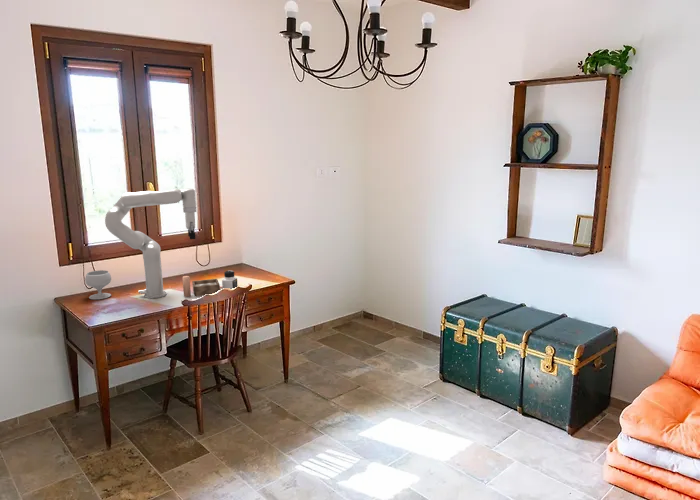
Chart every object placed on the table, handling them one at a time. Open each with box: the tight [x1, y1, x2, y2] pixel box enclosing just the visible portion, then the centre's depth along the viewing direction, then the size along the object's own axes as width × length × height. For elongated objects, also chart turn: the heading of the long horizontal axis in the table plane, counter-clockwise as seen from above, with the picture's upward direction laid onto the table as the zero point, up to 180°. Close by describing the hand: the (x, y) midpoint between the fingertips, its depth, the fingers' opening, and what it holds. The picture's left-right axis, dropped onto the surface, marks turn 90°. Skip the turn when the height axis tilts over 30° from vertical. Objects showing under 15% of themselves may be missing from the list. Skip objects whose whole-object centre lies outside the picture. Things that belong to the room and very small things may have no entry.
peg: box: [182, 275, 192, 298], centre depth 303 cm, size 4×4×12 cm
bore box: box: [192, 278, 221, 297], centre depth 311 cm, size 15×14×6 cm
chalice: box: [84, 270, 112, 300], centre depth 301 cm, size 14×14×15 cm
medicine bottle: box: [221, 270, 239, 289], centre depth 316 cm, size 7×7×12 cm
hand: (191, 237), depth 305 cm, fingers open, 9 cm apart
